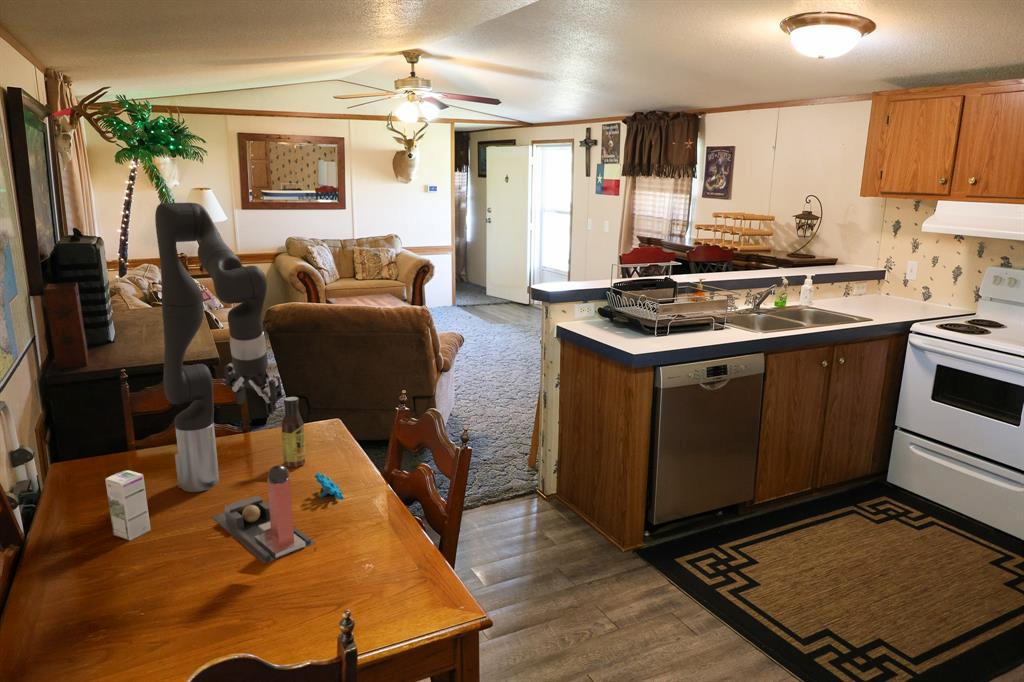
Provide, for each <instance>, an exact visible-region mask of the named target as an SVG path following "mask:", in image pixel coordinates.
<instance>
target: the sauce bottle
mask: <svg viewBox="0 0 1024 682" xmlns="http://www.w3.org/2000/svg"><path fill="white" fill-rule="evenodd" d="M299 400H300V399H299V397H297V396H289V397H284V398H283V405H284V416H283V417H282V419H281V444H282V446H281V447H282V460H283V466H285V467H286V468H298V467H301V466H303V465H305V463H306V439H305V436H306V435H305V424H304V421H303V418H302V416H301V413H300V410H299V402H300V401H299Z"/></svg>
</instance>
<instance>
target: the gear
mask: <svg viewBox="0 0 1024 682" xmlns="http://www.w3.org/2000/svg"><path fill="white" fill-rule="evenodd" d="M314 478H315V479H316V482H317V483H319V484H320V486H321V487H322V488H321V490H323V491H322V492H321V493H320V495H319V496H318V497H319V498H324V497H326V496H327V495H331V496H332V495H333V496H334V498H335V499H337V500H344V499H345V496H344V495H343V492H341V489H340V487H339V485H338V484H335V482H334V481H333V480H332V478H331V477H329V476H327V475H325V474H321V473H320V472H317V473H316V474H314Z"/></svg>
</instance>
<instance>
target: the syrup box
mask: <svg viewBox="0 0 1024 682" xmlns="http://www.w3.org/2000/svg"><path fill="white" fill-rule="evenodd" d="M105 485H106V492H107V493H106V494H107V500H108V505H109V506H108V507H109V513H110V519H111V526H112V527H111V528H112V534H113V536H115V537H118V538H121V539H123V540H127V541H133V539H136V538H138V537H141V536H143V535H144V534H146V533H148V532H150V531H151V522H150V517H149V508H148V500H147V494H146V486H145V478H144V474H143V473H140V472H136V471H133V470H129V469H126V470H123V471H120V472H116V473H115V474H112V475H110V476H108V477H106V478H105Z"/></svg>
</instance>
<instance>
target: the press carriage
mask: <svg viewBox="0 0 1024 682" xmlns="http://www.w3.org/2000/svg"><path fill="white" fill-rule="evenodd" d="M266 481H267V495H268V504H269V511H270V522H267V523H264V524H262V525H259V526H258V530H259V535H257V536H255V541H256V542H257V543H258V544H260V545H261V546H262V547H263V548H264V549H265V550H267V551H268V552H269V553H270V554H271V555H273V556H274V557H275V558H277V557H280V556H282V555H285V554H287V553H290V552H293V551H295V550H298V549H300V548H303V547H305V546H306V543H305V541H303V540H302V539H301V538H299V537H298V536H297V535H295V534H294V531H293V526H294V519H293V506H292V505H293V504H292V503H293V501H292V491H291V489H292V488H291V479H290V472H289V470H288V467H286V466H285V465H282V464H276V465H274V466H271V468H270V469H269V470H268V472H267V479H266ZM305 548H306V547H305ZM303 549H304V548H303ZM300 550H301V549H300ZM298 551H299V550H298ZM295 552H296V551H295ZM293 553H294V552H293ZM290 554H291V553H290ZM285 556H286V555H285ZM280 558H281V557H280Z"/></svg>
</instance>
